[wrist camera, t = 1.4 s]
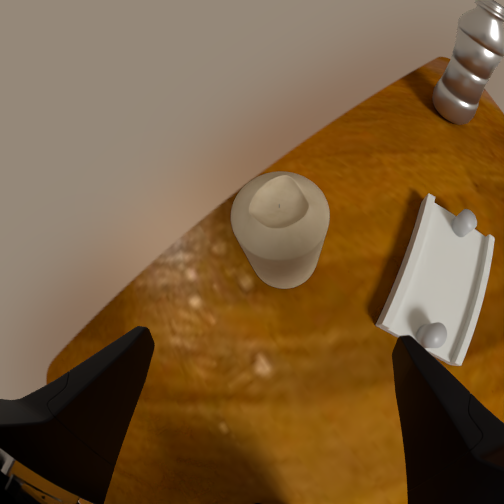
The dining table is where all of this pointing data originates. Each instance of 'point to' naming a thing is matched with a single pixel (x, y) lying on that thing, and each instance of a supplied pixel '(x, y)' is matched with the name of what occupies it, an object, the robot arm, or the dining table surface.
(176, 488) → the dining table surface
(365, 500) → the dining table surface
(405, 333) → the tray
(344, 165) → the dining table surface
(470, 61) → the plastic bottle
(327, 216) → the candle
